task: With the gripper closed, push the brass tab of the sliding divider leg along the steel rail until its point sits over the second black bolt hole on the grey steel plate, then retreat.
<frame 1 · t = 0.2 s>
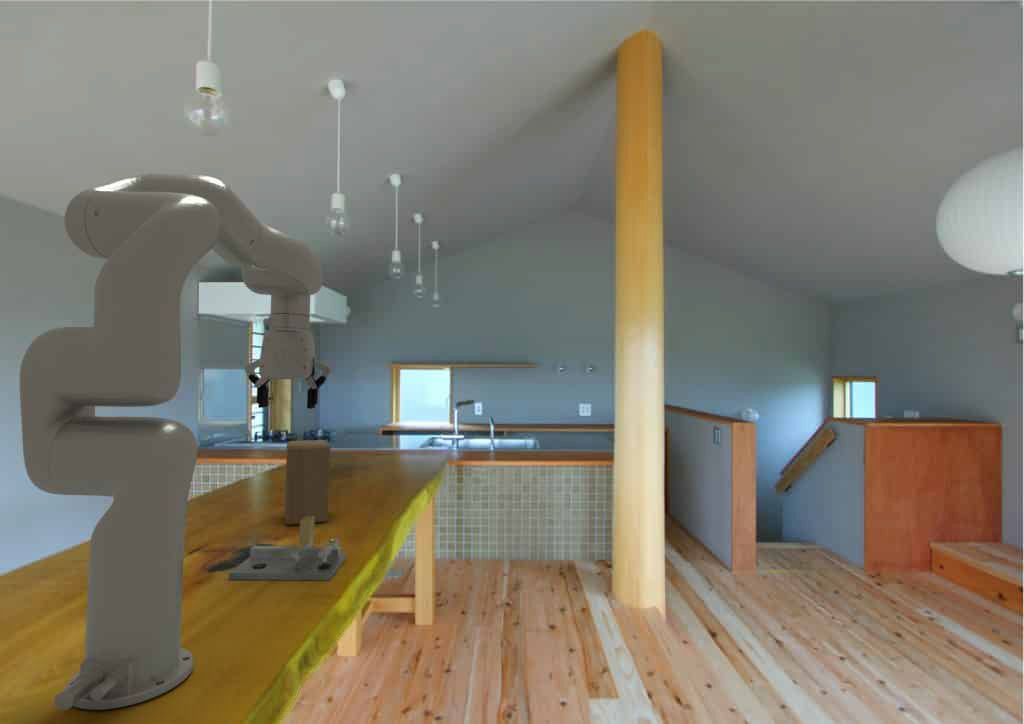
hand: (287, 407, 111), 31 cm above the table, fingers open, 9 cm apart
wooden block: (305, 520, 140), on the table
bolt plate: (291, 568, 105), on the table
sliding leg: (302, 541, 105), point 5 cm above the table, slide at -2.0 cm
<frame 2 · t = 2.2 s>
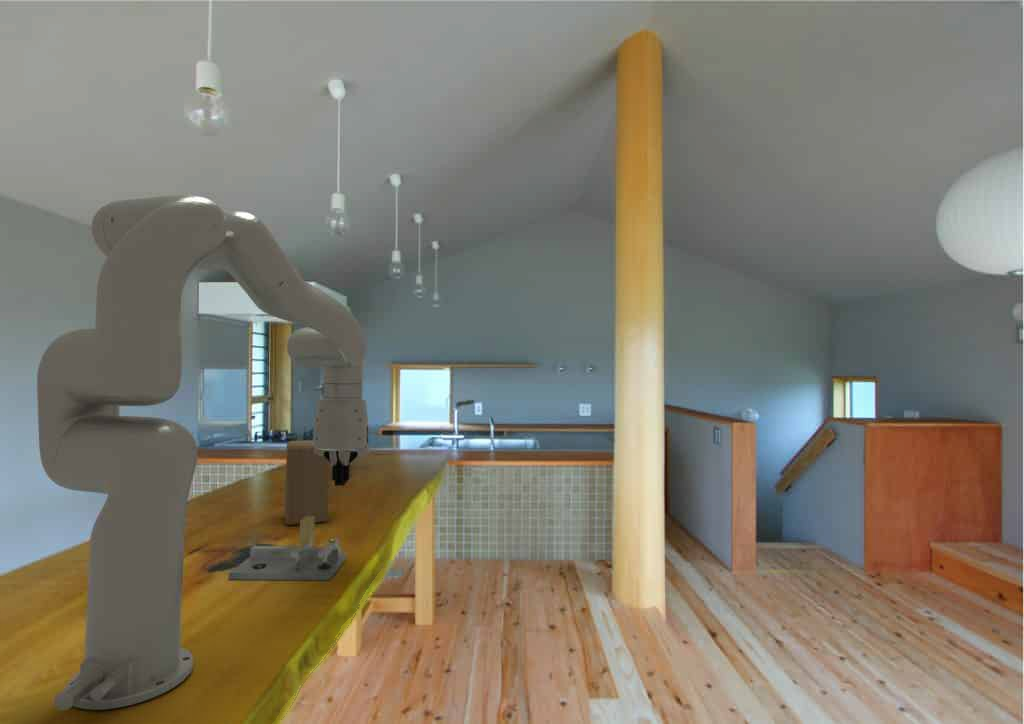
hand: (340, 484, 109), 16 cm above the table, fingers closed
nothing on the table moved.
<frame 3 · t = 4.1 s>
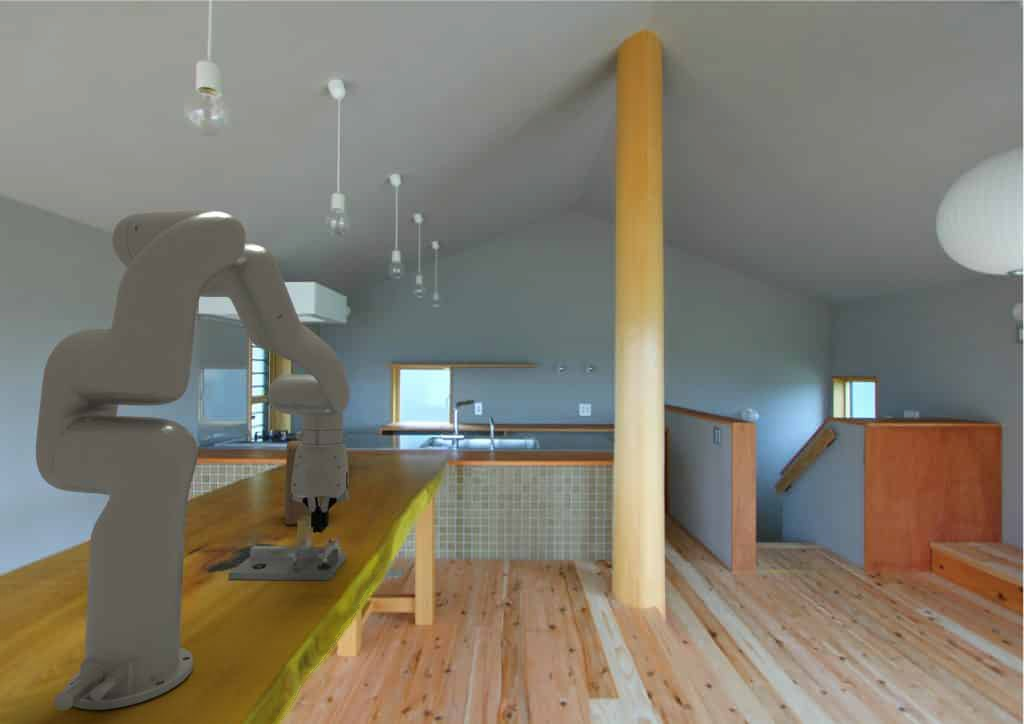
hand: (319, 530, 108), 7 cm above the table, fingers closed
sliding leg: (299, 541, 105), point 5 cm above the table, slide at -1.5 cm, touching gripper
everything else where it was.
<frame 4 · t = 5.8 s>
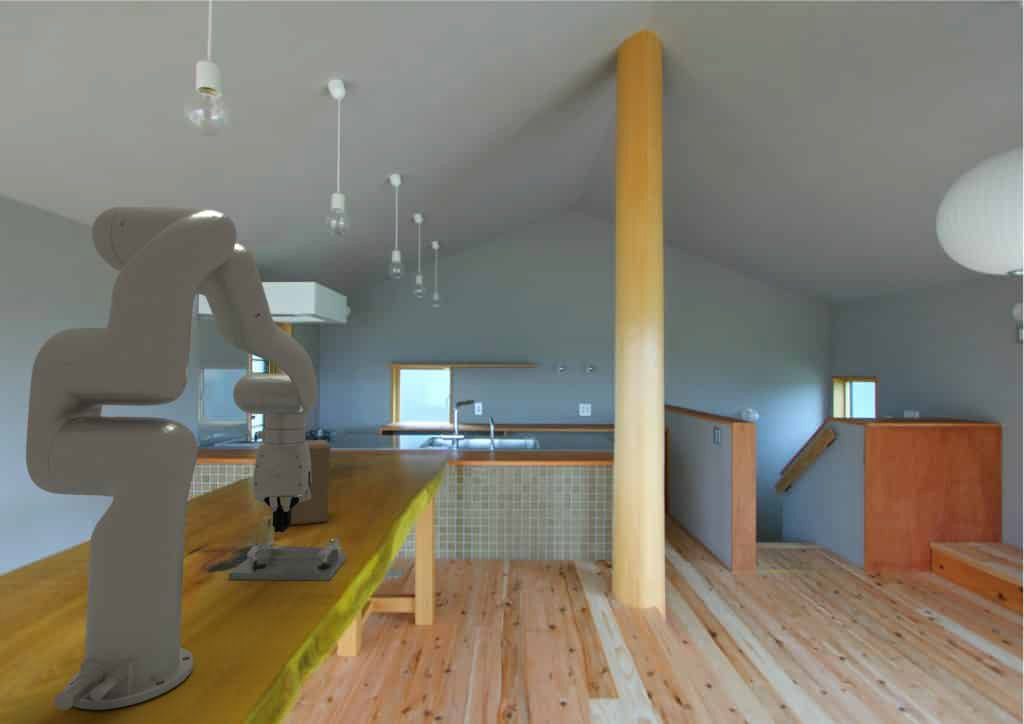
hand: (281, 530, 107), 7 cm above the table, fingers closed
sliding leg: (260, 540, 105), point 5 cm above the table, slide at 5.9 cm, touching gripper
everything else where it was.
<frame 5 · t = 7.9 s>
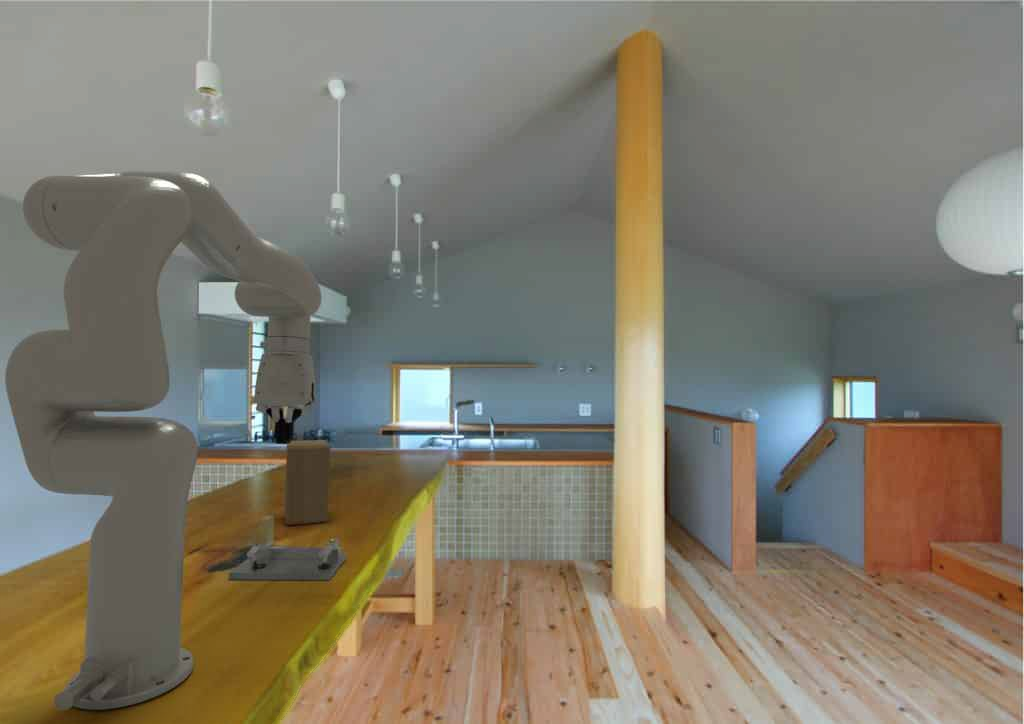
hand: (283, 443, 104), 24 cm above the table, fingers closed
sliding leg: (260, 540, 105), point 5 cm above the table, slide at 5.9 cm
everything else where it was.
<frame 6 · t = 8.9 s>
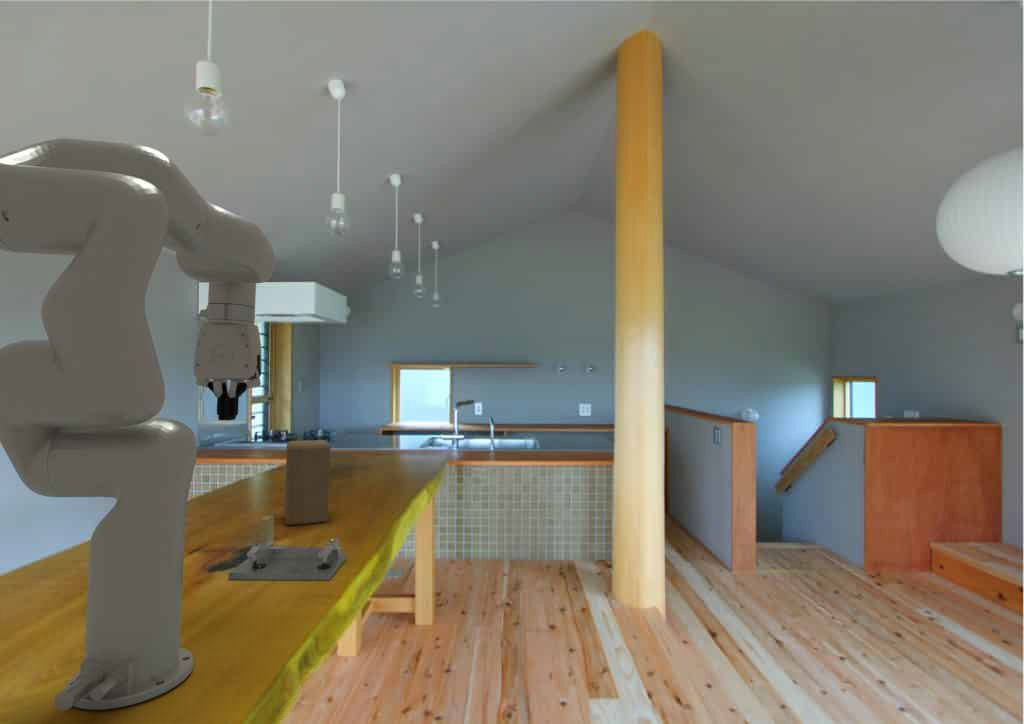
hand: (227, 419, 96), 29 cm above the table, fingers closed
nothing on the table moved.
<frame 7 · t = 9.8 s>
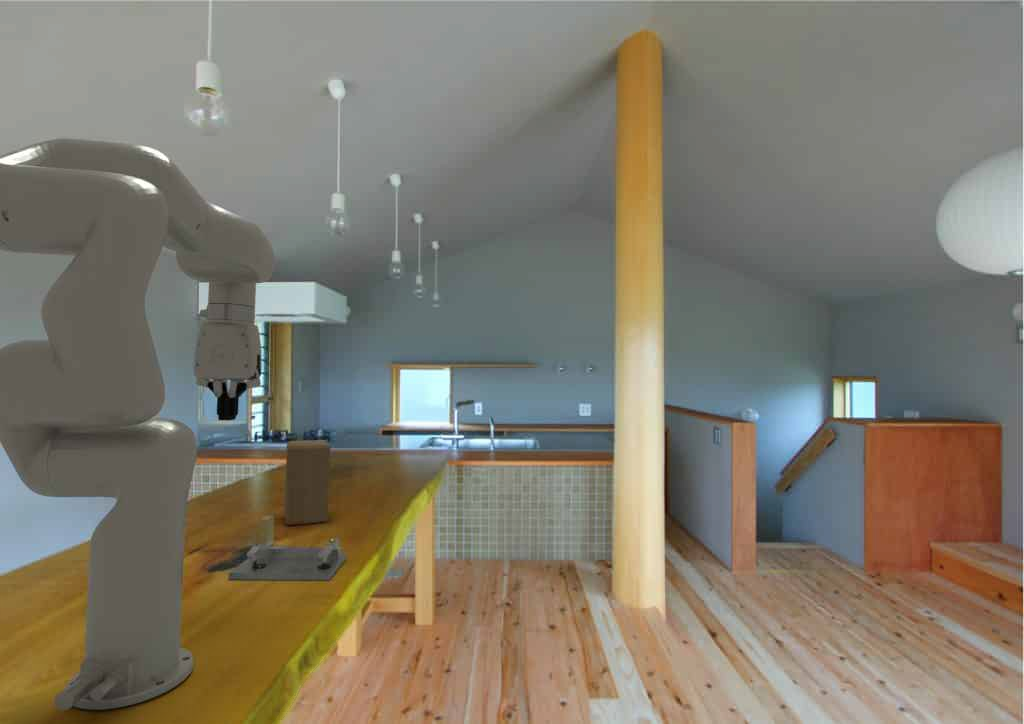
hand: (227, 419, 96), 29 cm above the table, fingers closed
nothing on the table moved.
at the end: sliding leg slide at 5.9 cm; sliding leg touching nothing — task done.
